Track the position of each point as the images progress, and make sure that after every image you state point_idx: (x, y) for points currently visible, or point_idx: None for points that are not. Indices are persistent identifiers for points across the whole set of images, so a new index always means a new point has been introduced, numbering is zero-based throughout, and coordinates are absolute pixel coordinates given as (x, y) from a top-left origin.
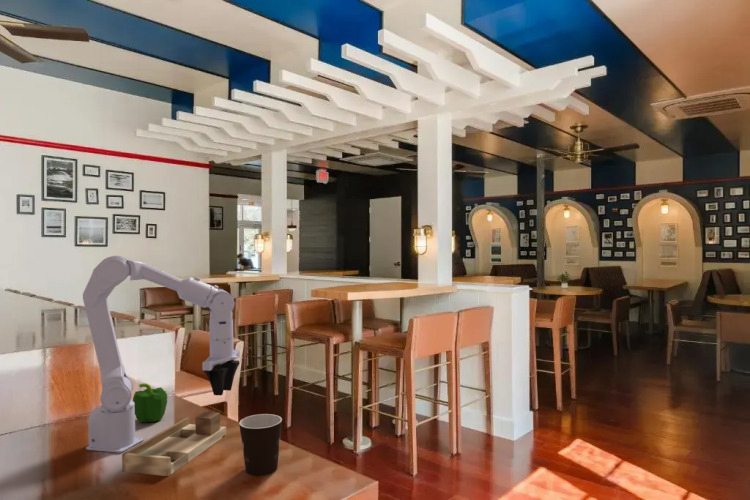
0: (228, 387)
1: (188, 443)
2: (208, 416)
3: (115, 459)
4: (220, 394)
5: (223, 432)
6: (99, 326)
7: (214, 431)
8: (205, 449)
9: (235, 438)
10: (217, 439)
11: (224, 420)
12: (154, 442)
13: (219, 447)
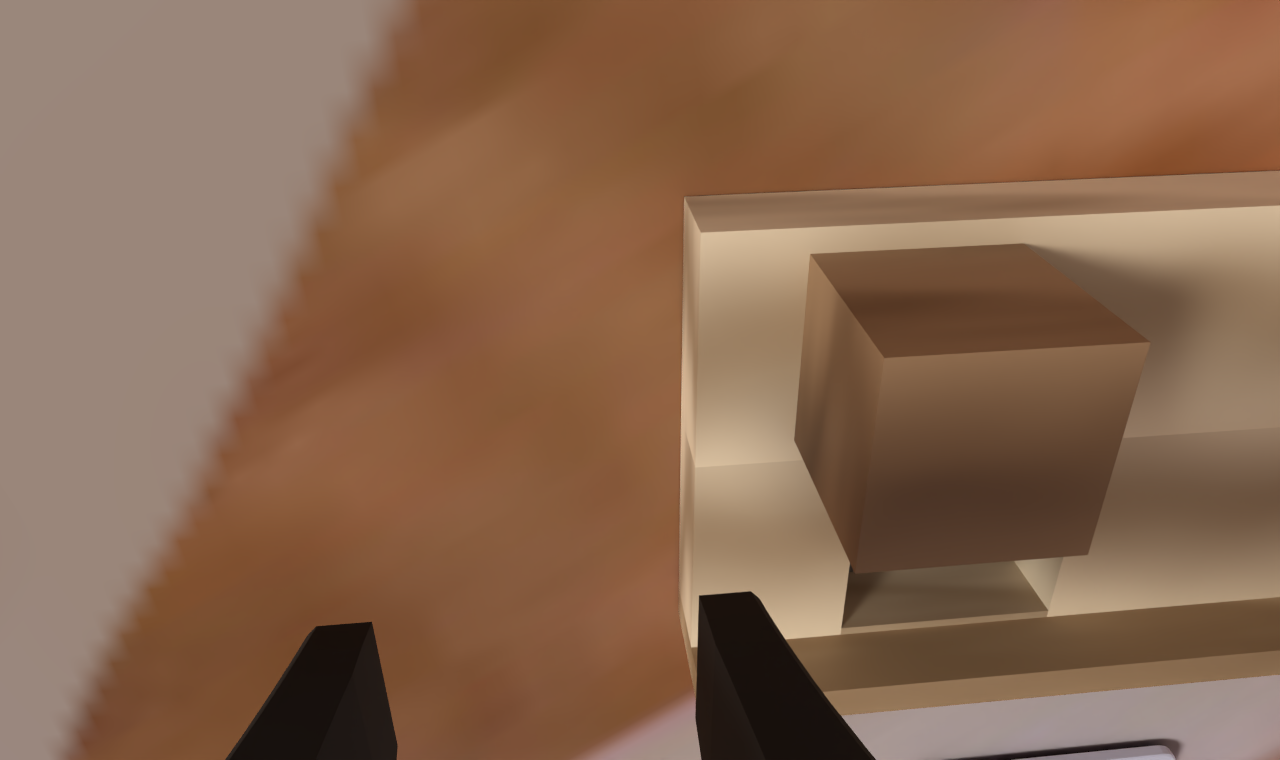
0: (367, 700)
1: (1254, 344)
2: (1055, 422)
3: (1264, 707)
4: (762, 615)
5: (761, 211)
6: None
7: (952, 255)
8: (1136, 178)
9: (773, 12)
10: (895, 193)
11: (249, 474)
12: (1260, 616)
13: (1068, 56)
